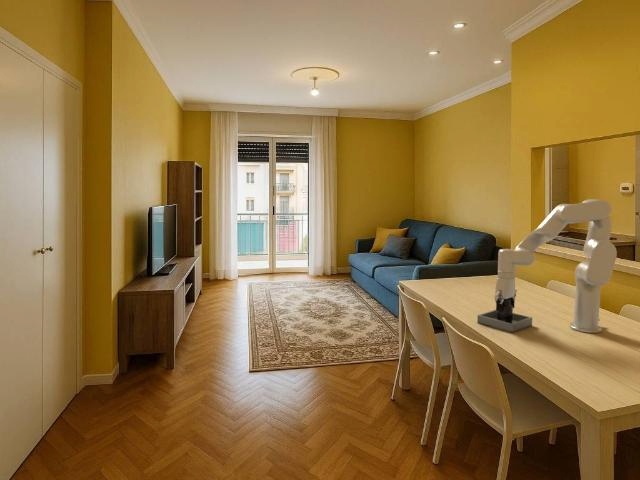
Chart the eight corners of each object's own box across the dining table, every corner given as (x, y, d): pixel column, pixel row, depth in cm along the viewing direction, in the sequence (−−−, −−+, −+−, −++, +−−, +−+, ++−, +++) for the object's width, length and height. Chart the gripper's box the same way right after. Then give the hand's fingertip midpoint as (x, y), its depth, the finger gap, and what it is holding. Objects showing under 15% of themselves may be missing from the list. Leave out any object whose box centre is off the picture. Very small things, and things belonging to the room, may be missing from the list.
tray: (497, 316, 208) (497, 308, 207) (532, 325, 193) (532, 317, 193) (477, 323, 198) (477, 315, 198) (512, 333, 183) (512, 324, 183)
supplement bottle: (498, 319, 200) (499, 296, 199) (513, 322, 196) (514, 298, 195) (495, 323, 195) (496, 299, 193) (510, 326, 191) (511, 301, 189)
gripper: (509, 271, 201) (507, 304, 203) (488, 276, 191) (487, 311, 193) (523, 273, 194) (522, 308, 196) (503, 278, 185) (502, 314, 187)
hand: (505, 309), depth 195 cm, fingers open, 9 cm apart
